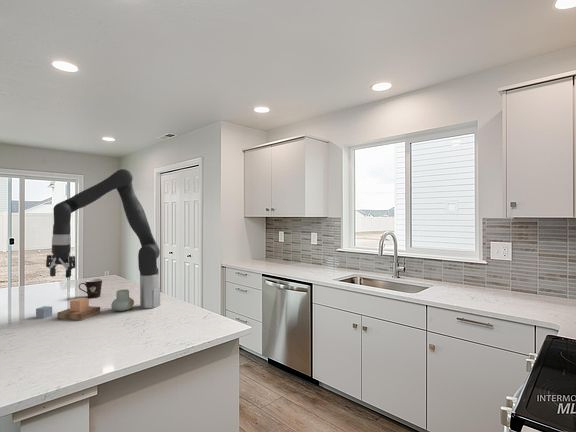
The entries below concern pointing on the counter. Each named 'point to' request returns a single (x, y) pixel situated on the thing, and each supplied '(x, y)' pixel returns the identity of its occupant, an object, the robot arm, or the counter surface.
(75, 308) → the terracotta block
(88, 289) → the coffee mug
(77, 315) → the walnut plinth
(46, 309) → the slate block
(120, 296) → the air freshener
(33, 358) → the counter surface
